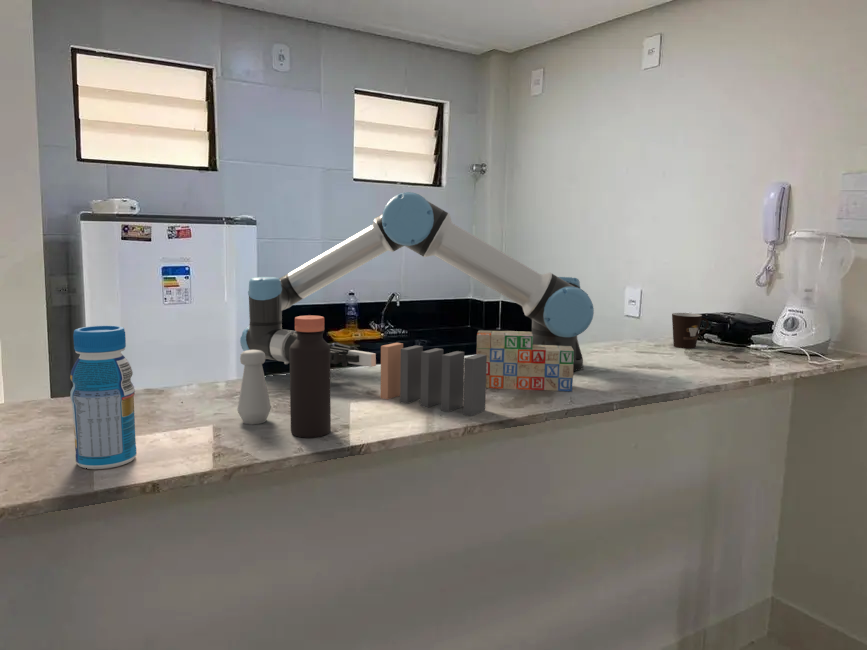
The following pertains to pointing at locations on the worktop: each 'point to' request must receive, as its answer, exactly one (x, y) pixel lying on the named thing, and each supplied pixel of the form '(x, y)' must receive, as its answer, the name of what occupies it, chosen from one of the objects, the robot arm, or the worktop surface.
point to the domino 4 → (474, 384)
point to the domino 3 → (452, 381)
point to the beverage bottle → (102, 399)
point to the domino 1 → (410, 374)
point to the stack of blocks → (524, 362)
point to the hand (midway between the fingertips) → (373, 360)
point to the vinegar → (310, 379)
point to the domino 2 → (431, 377)
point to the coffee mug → (686, 329)
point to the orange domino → (390, 370)
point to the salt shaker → (253, 389)
